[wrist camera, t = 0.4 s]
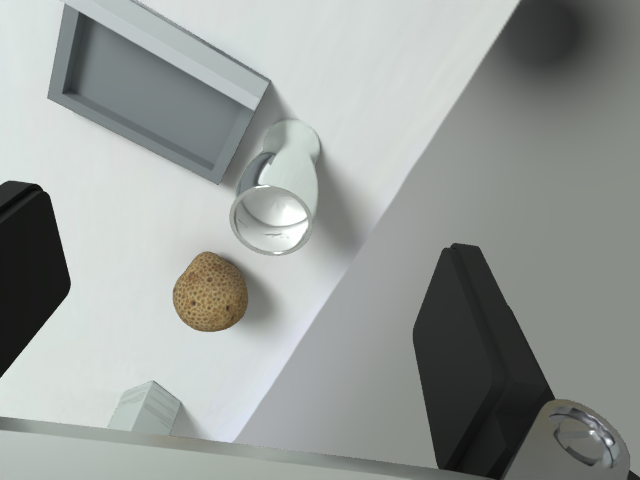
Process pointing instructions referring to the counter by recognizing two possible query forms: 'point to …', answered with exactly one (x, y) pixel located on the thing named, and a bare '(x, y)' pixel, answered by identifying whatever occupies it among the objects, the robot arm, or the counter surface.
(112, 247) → the counter surface
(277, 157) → the beer glass
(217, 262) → the natural sponge
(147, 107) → the guarded tray
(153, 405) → the supplement box
